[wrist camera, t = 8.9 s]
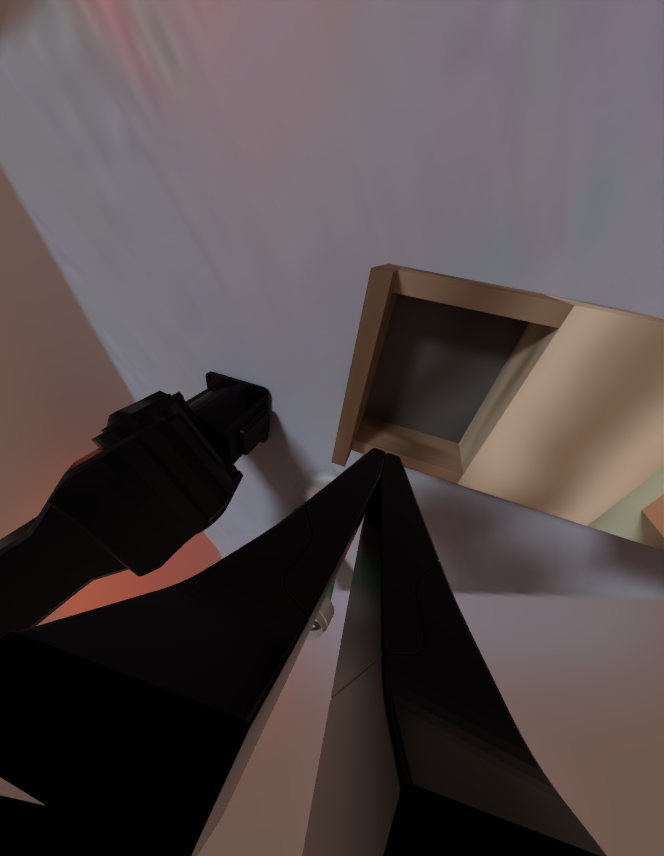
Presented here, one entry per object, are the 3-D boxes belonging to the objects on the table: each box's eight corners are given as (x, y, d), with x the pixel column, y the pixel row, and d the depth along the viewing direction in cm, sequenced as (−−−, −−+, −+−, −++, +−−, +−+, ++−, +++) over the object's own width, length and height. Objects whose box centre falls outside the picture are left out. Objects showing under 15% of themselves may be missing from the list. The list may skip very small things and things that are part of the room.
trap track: (351, 419, 23) (331, 462, 18) (388, 263, 16) (371, 267, 11) (850, 571, 17) (1007, 689, 13) (1252, 433, 10) (1946, 585, 6)
